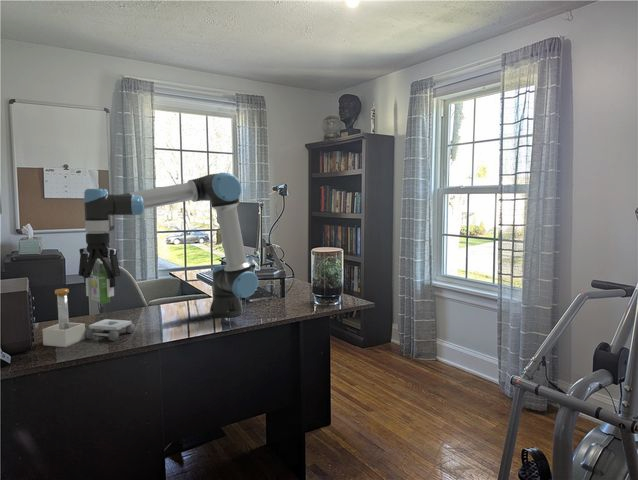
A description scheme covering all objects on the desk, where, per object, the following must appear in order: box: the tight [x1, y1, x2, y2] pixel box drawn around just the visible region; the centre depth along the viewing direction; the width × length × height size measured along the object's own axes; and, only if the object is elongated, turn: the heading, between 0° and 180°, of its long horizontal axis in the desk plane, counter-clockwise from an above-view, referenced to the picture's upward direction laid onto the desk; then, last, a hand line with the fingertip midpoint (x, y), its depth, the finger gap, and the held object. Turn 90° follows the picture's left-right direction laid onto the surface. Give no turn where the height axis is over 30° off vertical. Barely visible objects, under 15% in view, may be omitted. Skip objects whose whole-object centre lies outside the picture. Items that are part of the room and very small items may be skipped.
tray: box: [42, 322, 87, 348], centre depth 163 cm, size 10×10×6 cm
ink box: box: [90, 263, 111, 305], centre depth 157 cm, size 7×4×13 cm, turn 50°
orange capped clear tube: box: [54, 287, 70, 330], centre depth 162 cm, size 4×4×19 cm
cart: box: [85, 318, 136, 342], centre depth 171 cm, size 12×14×5 cm
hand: (100, 295), depth 157 cm, fingers closed on ink box, 8 cm apart
